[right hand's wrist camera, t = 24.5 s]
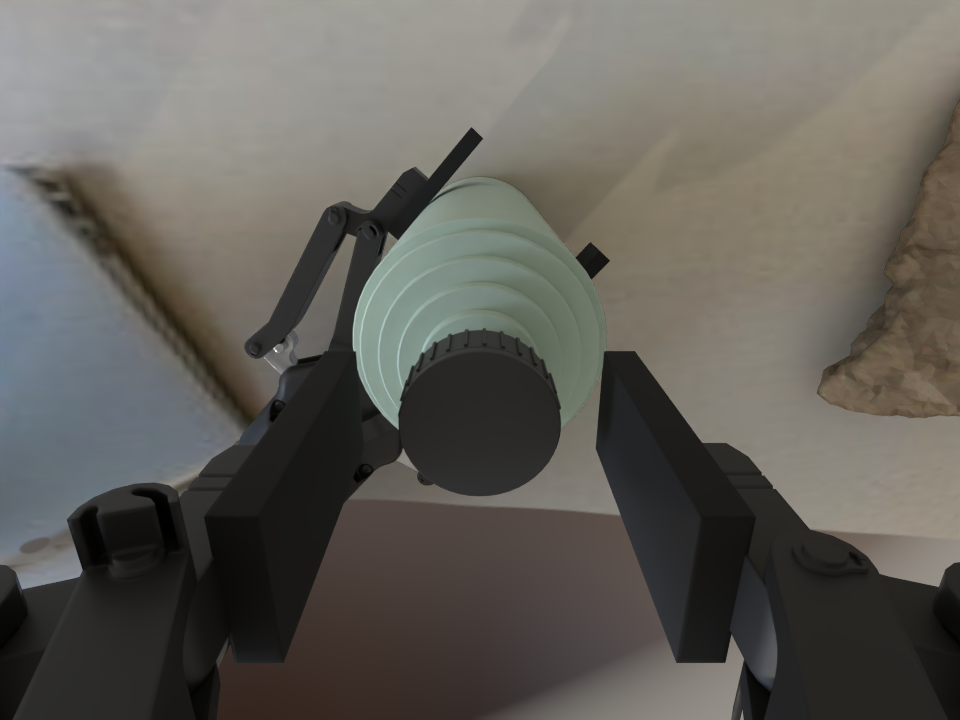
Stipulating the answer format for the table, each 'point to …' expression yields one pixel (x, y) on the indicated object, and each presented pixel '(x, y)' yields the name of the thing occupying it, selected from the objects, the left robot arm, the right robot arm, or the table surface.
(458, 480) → the cap
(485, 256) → the bottle
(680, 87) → the table surface
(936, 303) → the stone
